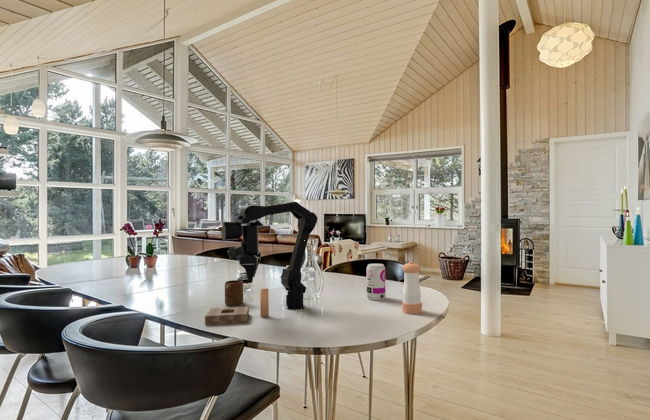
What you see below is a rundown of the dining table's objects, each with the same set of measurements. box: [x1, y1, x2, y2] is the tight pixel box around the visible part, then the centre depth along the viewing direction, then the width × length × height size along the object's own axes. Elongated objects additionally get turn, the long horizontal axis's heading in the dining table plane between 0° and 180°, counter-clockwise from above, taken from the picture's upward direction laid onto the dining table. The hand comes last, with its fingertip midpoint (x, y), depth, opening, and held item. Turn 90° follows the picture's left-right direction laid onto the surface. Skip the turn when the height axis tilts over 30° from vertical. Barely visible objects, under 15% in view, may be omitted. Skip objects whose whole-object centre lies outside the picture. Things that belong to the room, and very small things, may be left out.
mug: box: [224, 279, 244, 307], centre depth 149 cm, size 12×8×9 cm, turn 173°
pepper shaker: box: [401, 261, 423, 315], centre depth 137 cm, size 7×7×19 cm
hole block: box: [204, 306, 250, 326], centre depth 129 cm, size 14×10×3 cm
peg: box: [259, 287, 270, 318], centre depth 133 cm, size 3×3×10 cm
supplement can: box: [366, 263, 387, 301], centre depth 158 cm, size 8×8×15 cm
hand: (251, 279), depth 135 cm, fingers open, 9 cm apart
